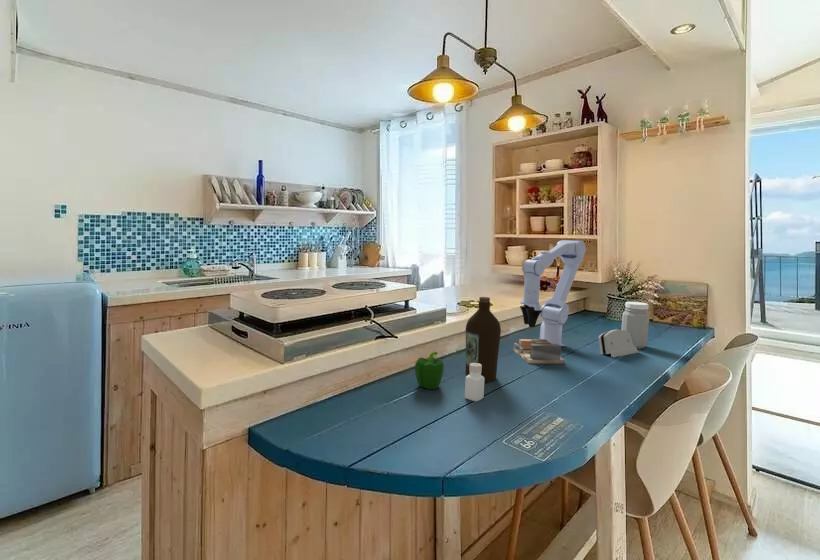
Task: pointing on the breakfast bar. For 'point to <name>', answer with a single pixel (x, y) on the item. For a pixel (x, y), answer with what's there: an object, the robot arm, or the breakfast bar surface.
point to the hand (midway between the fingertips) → (529, 325)
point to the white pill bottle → (474, 383)
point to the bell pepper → (429, 371)
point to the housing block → (540, 341)
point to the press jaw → (525, 343)
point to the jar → (636, 323)
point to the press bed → (526, 357)
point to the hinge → (616, 343)
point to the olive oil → (483, 340)
